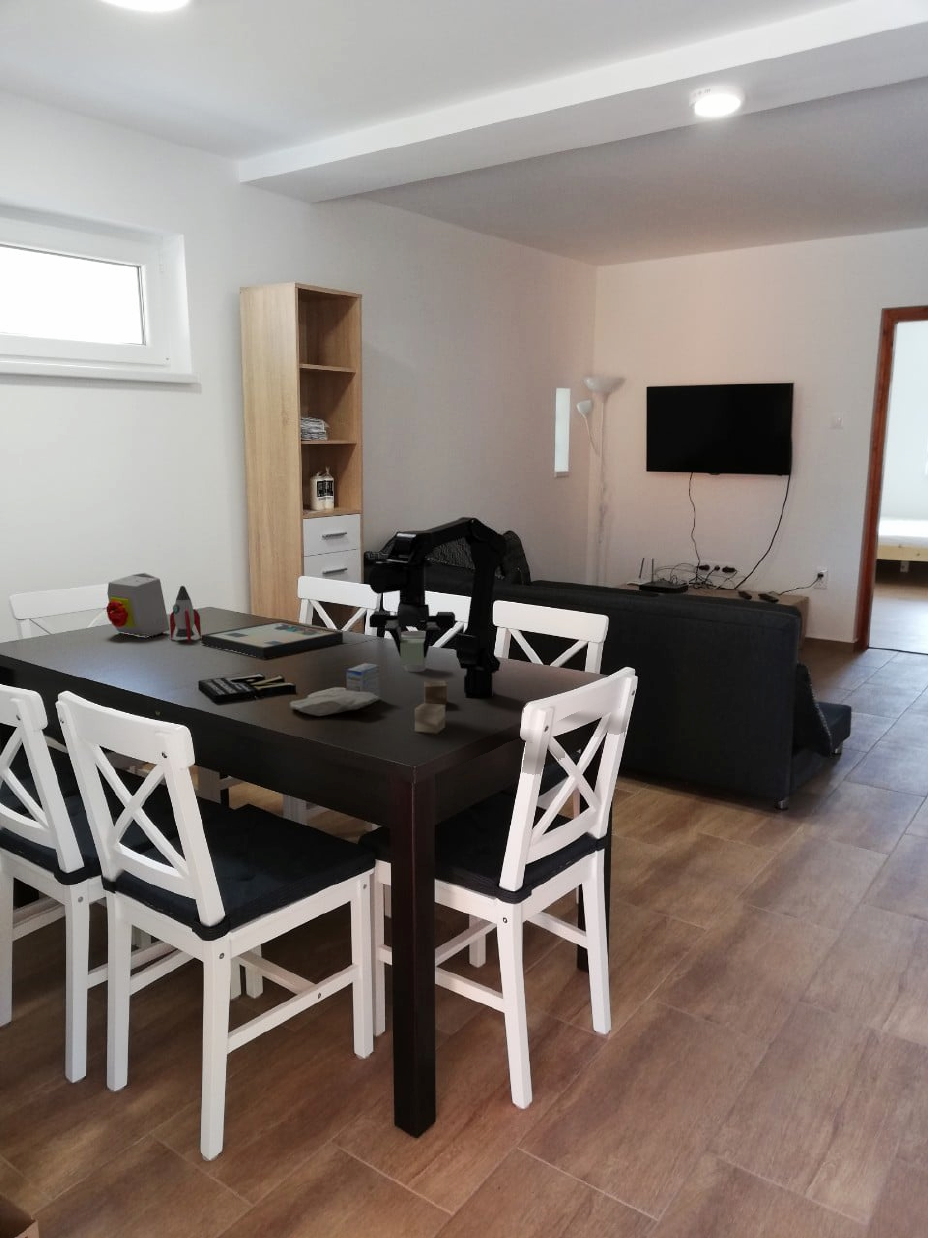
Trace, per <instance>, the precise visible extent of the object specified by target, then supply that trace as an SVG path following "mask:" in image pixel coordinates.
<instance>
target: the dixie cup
mask: <svg viewBox="0 0 928 1238" xmlns="http://www.w3.org/2000/svg"><path fill="white" fill-rule="evenodd" d="M425 635H426V630H407V631H401V636H402V640H403V639H425ZM427 659H428V655H427V656H426V661H425V663H424V664H423V665H403V667H404V671H406V672H409V673H419V672H420V673H421V672H424V671H426V667H427Z"/></svg>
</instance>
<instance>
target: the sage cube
mask: <svg viewBox="0 0 928 1238" xmlns="http://www.w3.org/2000/svg"><path fill="white" fill-rule="evenodd" d="M424 644H425V639H403V640H402V642H401V643H400V651H401V657H400V666H404V665H423V664H424V663H425V661H426V662H427V660H426V658H424Z"/></svg>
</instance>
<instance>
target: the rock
mask: <svg viewBox="0 0 928 1238" xmlns="http://www.w3.org/2000/svg"><path fill="white" fill-rule="evenodd" d="M378 699H379V697H378V696H376V695H374V694H373V693H370V692H356V691H347V687H331V688H327V689H324V690H323V689H321V690H318V691H315V692H313V693H310V694H308V695H307V696H306V698H303V699H298V700H291V702H289V706H290V709H293V710H297V711H299V712H301V713H303V714H306V715H310V716H317V717H322V716H323V717H325V716H328V715H333V714H335V715H336V713H337V714H342V713H344V712H348V711H353V710H354V711H356V710H359V709H361V708H365V707H366V706H369V705H371V704H373V703H375V702H377V701H378ZM379 700H380V699H379Z"/></svg>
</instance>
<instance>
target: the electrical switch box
mask: <svg viewBox="0 0 928 1238" xmlns="http://www.w3.org/2000/svg"><path fill="white" fill-rule="evenodd" d="M107 584H108V585H107V593H106V594H107V597H108V598H107V599H108V604H107V606H106V614H107V618H108V621H109V622H111V624H112V625H113V626H114V627H115V629H116V631H117V632H118V631H119V632H124V633H129V634H134V635H139V636H145V637H147V636H152V637H154V636H153V635H155V636H157V635H161V634H162V633H165V632H167V631H169V630H170V623H169V619H168V613H167V609H166V603H165V599H164V593H163V589H162V583H161V580H160V578H159V577H156V576H154V575H151V574H149V573H146V572H142V573H137V574H131V575H128V576H125V577H121V578H119V579H115V580H113V581H110V582H108V583H107ZM119 632H118V633H119Z"/></svg>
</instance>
